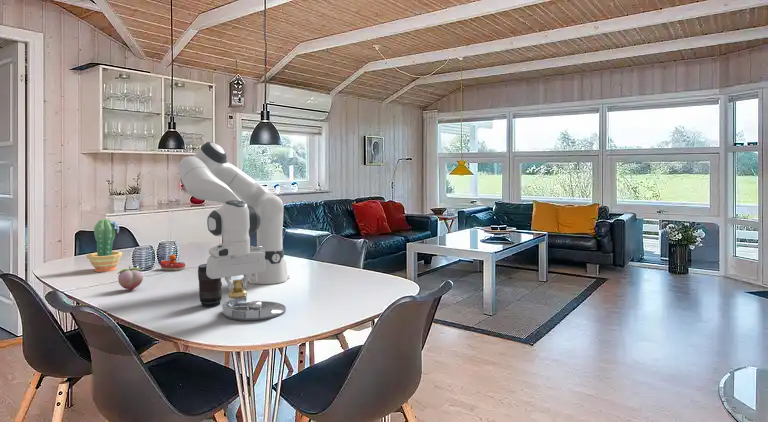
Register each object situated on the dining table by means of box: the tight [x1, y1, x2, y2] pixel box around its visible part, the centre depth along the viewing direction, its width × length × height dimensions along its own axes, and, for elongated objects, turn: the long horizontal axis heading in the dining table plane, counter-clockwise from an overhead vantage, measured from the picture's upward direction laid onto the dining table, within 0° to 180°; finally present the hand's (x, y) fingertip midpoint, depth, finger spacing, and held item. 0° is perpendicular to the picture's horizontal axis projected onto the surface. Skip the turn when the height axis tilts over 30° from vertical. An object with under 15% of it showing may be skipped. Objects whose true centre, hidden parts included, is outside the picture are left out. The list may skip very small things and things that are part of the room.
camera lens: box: [197, 263, 223, 308], centre depth 189 cm, size 8×8×15 cm
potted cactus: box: [86, 218, 123, 273], centre depth 249 cm, size 15×15×25 cm
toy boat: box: [159, 254, 186, 272], centre depth 252 cm, size 8×12×8 cm, turn 83°
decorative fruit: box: [117, 266, 144, 291], centre depth 210 cm, size 9×8×10 cm
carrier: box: [221, 296, 287, 322], centre depth 180 cm, size 22×22×3 cm
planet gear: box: [228, 279, 248, 299], centre depth 175 cm, size 6×6×6 cm
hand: (237, 288), depth 175 cm, fingers closed on planet gear, 3 cm apart
